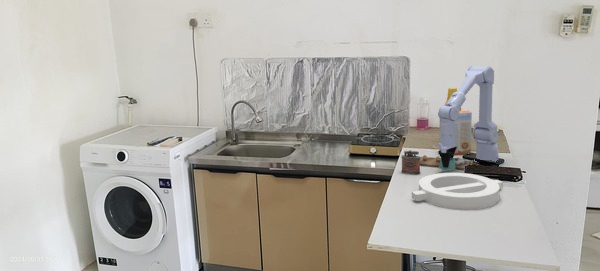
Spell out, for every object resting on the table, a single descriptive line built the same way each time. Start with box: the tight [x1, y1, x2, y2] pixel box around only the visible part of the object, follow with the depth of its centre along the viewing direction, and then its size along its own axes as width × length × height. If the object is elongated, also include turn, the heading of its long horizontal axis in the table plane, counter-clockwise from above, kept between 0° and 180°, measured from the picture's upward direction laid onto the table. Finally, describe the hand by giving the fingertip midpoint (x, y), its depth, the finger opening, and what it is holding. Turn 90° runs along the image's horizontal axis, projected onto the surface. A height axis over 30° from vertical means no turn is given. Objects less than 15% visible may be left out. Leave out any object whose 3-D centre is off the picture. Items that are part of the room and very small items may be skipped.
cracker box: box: [439, 110, 473, 156], centre depth 224 cm, size 14×6×21 cm, turn 84°
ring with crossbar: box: [411, 172, 504, 210], centre depth 170 cm, size 28×28×5 cm
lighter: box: [400, 149, 421, 175], centre depth 199 cm, size 8×3×10 cm, turn 62°
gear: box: [439, 157, 456, 172], centre depth 197 cm, size 6×6×4 cm
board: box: [420, 154, 472, 171], centre depth 210 cm, size 23×12×4 cm, turn 59°
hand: (447, 165), depth 197 cm, fingers closed on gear, 6 cm apart
